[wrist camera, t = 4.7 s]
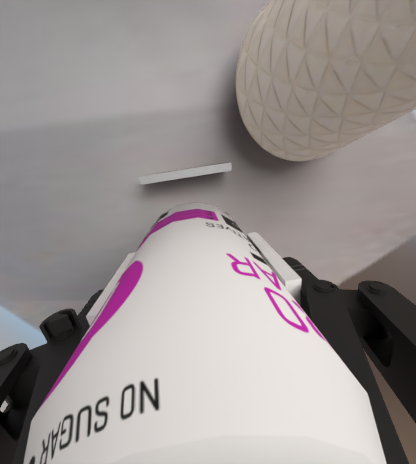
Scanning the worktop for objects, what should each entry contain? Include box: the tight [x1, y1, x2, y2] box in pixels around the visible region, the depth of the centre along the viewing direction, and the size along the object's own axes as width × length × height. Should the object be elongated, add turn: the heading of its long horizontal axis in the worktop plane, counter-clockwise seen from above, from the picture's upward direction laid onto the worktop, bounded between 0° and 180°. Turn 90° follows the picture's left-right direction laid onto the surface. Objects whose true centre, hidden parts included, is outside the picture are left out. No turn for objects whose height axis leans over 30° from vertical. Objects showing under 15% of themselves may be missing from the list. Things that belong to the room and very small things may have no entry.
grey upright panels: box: [139, 163, 232, 185], centre depth 32 cm, size 25×12×7 cm, turn 8°
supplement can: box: [23, 202, 387, 464], centre depth 11 cm, size 8×8×15 cm
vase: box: [236, 0, 416, 161], centre depth 18 cm, size 18×17×23 cm
